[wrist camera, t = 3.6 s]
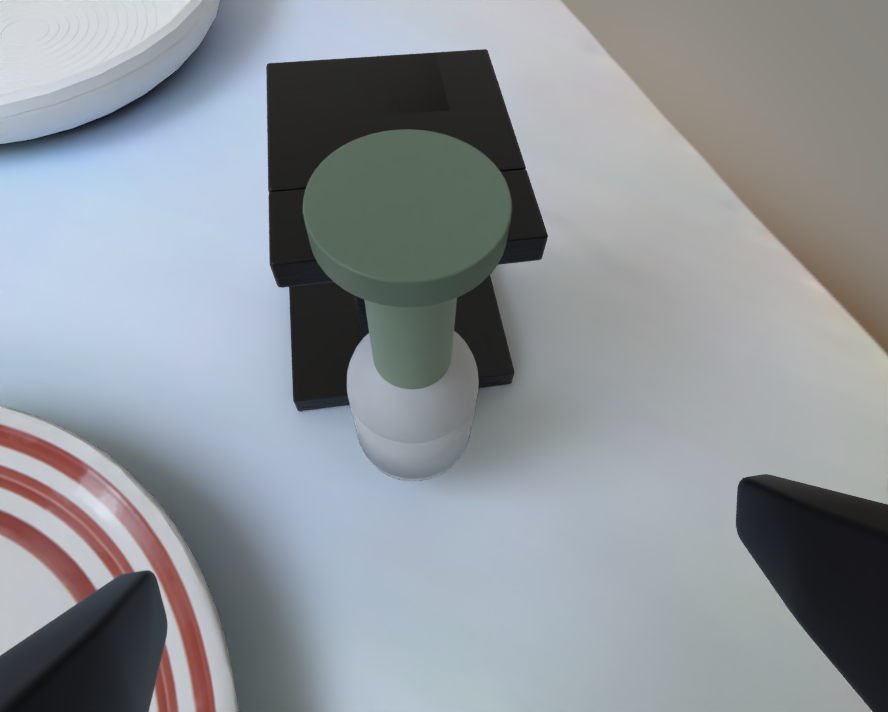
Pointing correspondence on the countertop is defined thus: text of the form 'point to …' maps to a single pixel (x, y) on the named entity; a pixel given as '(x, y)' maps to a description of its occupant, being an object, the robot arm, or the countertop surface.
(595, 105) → the countertop surface
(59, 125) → the white round dish
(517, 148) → the black bracket
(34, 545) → the dinner plate
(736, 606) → the countertop surface
